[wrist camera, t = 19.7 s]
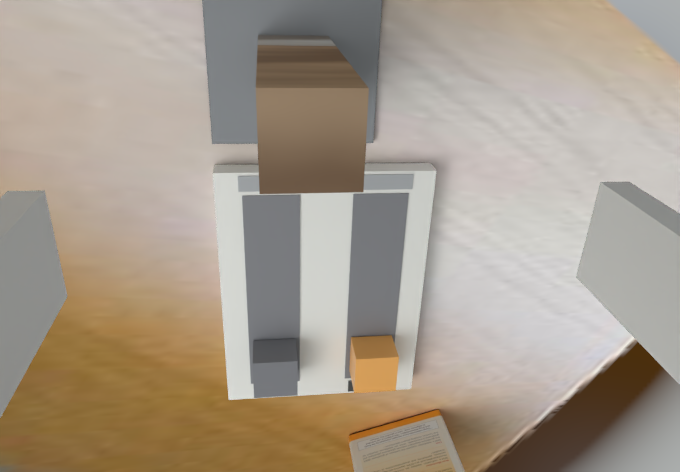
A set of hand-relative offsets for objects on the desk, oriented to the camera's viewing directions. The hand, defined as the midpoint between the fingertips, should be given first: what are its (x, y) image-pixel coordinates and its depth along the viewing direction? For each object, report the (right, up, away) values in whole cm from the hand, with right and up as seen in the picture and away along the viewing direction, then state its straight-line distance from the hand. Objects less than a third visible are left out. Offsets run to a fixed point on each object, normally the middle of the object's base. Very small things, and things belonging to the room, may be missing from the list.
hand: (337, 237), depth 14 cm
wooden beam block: (-3, +10, +20) cm, 22 cm away
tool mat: (-3, +10, +20) cm, 22 cm away
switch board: (-1, -3, +27) cm, 27 cm away
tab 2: (+2, -9, +28) cm, 29 cm away
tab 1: (-5, -9, +27) cm, 29 cm away
